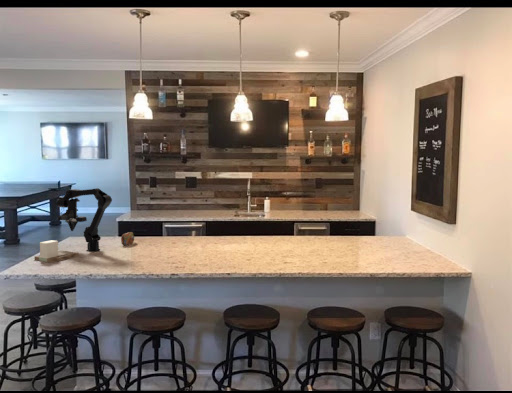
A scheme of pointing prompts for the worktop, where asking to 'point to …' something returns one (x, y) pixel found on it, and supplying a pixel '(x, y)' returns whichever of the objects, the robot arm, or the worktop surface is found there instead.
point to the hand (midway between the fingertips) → (72, 231)
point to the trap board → (60, 256)
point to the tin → (127, 238)
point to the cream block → (49, 249)
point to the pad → (43, 259)
